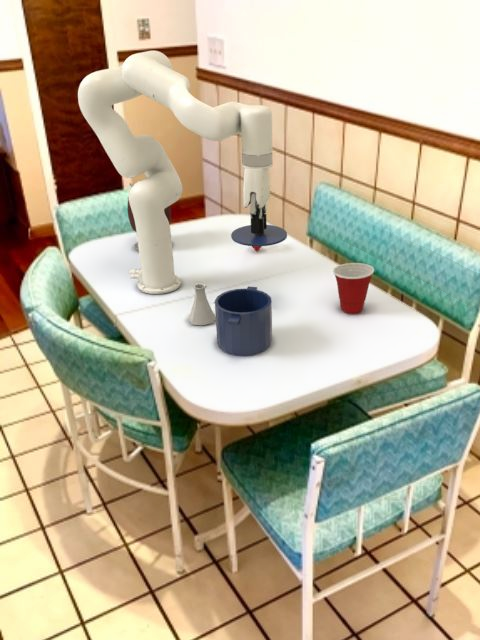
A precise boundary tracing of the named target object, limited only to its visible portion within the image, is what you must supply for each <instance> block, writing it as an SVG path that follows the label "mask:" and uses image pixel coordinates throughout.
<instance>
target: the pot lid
mask: <svg viewBox="0 0 480 640" xmlns="http://www.w3.org/2000/svg"><path fill="white" fill-rule="evenodd" d="M262 218H263V228H264V217H263V216H262ZM230 237H231V240H232V241H233V242H234V243H236V244H239V245H240V246H241V245H242V246H246V247H252V246H262V247H269V246H273V245H274V246H275V245H278V244H280V243H282V242H284V241H286V239H287V238H288V232H287V230H286V229H284V228H282V227H281V226H277V225H274V224H273V225H272V224H267V228H266V229H264V232H263V234H254V233H251V224H249V225H243V226H240V227H238V228H235V229H234V230H233V231H231V234H230Z"/></svg>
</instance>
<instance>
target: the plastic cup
mask: <svg viewBox="0 0 480 640" xmlns="http://www.w3.org/2000/svg"><path fill="white" fill-rule="evenodd" d="M374 272H375V268H374V266H372V265H370V264H367V263H361V262H349V263H347V262H346V263H342V264H339V265H336V266H334V268H333V269H332V273H333V274H334V277H335V281H336V286H337V293H338V299H339V305H340V310H341V311H342V312H343V313H345V314H348V315H358V314H360V313H361V312H362V311H363V309H364V307H365V306H364V305H365V301H366V299H367V294H368V291H369V286H370V283H371V279H372V276H373V274H374Z"/></svg>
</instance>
